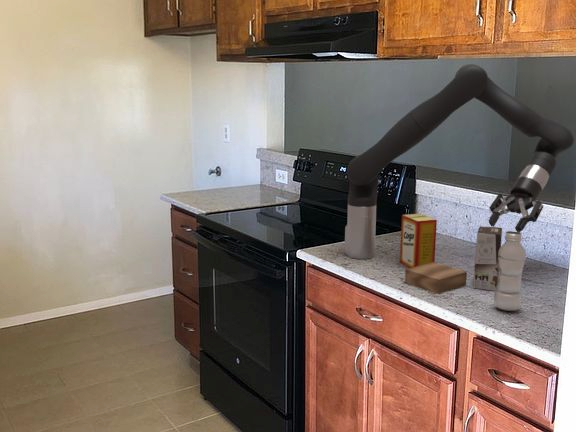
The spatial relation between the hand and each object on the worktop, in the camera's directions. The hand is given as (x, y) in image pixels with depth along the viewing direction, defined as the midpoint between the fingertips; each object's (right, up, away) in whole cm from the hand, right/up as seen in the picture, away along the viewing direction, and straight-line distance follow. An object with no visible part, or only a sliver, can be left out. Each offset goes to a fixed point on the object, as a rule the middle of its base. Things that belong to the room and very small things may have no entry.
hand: (503, 227), depth 176 cm
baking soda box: (-21, -13, +17) cm, 30 cm away
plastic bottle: (-6, -21, -19) cm, 29 cm away
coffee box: (-5, -17, -1) cm, 17 cm away
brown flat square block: (-20, -16, 0) cm, 25 cm away
